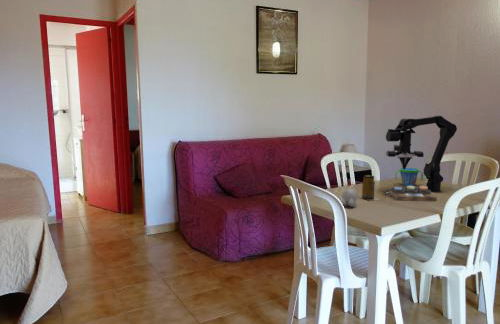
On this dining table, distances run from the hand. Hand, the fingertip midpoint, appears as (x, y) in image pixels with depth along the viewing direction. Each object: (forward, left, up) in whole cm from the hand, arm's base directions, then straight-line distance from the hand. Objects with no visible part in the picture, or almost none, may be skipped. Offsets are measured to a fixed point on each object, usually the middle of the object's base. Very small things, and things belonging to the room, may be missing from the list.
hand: (403, 169), depth 221 cm
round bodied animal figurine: (+34, +34, -13) cm, 50 cm away
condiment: (+22, +18, -13) cm, 31 cm away
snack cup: (-9, -20, -13) cm, 26 cm away
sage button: (-1, +11, -9) cm, 15 cm away
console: (-1, +14, -13) cm, 19 cm away
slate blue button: (+5, +11, -10) cm, 16 cm away
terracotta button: (-8, +11, -9) cm, 16 cm away
